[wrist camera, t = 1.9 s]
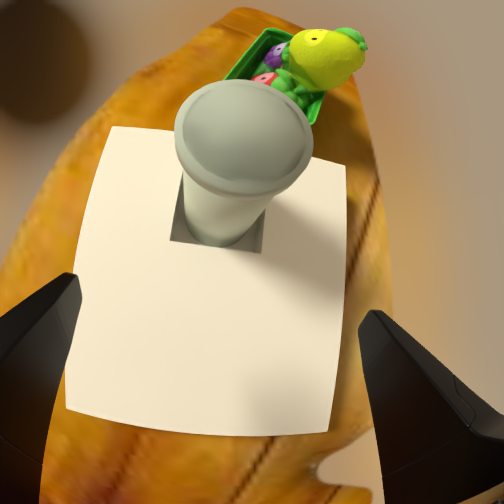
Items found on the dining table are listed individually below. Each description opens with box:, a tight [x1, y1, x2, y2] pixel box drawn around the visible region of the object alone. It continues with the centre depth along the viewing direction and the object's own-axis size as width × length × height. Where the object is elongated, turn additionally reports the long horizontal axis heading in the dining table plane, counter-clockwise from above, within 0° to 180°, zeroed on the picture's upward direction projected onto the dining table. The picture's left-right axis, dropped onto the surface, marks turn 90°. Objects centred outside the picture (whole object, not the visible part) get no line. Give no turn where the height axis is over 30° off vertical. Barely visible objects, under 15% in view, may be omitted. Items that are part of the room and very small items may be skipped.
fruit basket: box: [223, 28, 368, 126], centre depth 20 cm, size 11×9×11 cm
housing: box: [65, 126, 347, 436], centre depth 19 cm, size 20×18×4 cm
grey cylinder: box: [174, 79, 314, 248], centre depth 15 cm, size 5×5×11 cm
